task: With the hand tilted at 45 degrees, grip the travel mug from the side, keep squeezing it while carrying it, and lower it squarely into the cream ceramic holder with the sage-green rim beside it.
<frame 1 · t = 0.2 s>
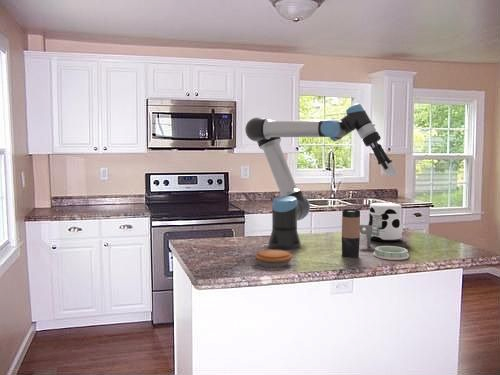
hand: (393, 175, 206), 34 cm above the table, tool tilted 30°, fingers open, 13 cm apart
milk container: (384, 240, 235), on the table
pie: (273, 264, 189), on the table
mug holder: (390, 255, 202), on the table
travel mug: (350, 256, 201), on the table
mechanical component: (368, 246, 220), on the table
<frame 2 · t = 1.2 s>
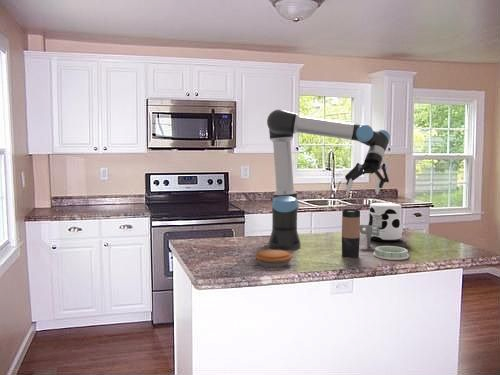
hand: (361, 192, 207), 27 cm above the table, tool tilted 45°, fingers open, 13 cm apart
nothing on the table moved.
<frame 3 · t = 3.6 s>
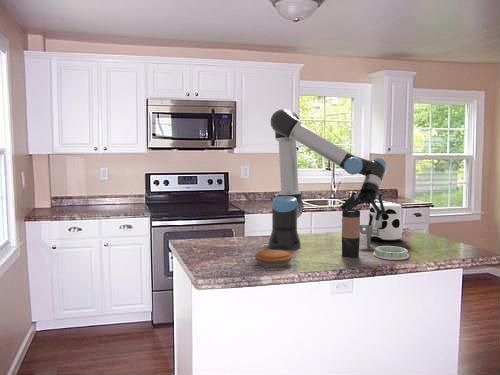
hand: (357, 224, 202), 14 cm above the table, tool tilted 45°, fingers open, 13 cm apart
nothing on the table moved.
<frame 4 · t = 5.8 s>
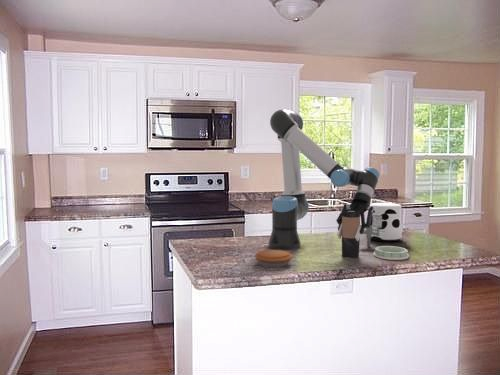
hand: (347, 238, 198), 9 cm above the table, tool tilted 45°, fingers closed on travel mug, 7 cm apart
travel mug: (350, 256, 201), on the table, touching gripper
everything else where it was.
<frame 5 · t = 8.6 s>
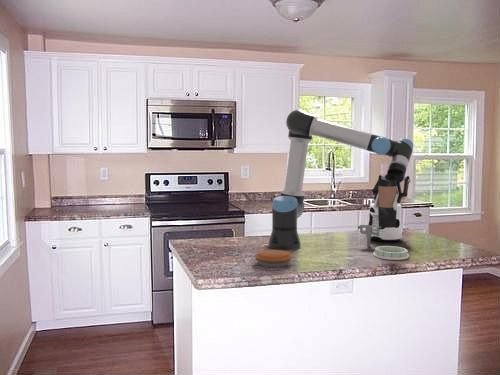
hand: (384, 207, 197), 22 cm above the table, tool tilted 45°, fingers closed on travel mug, 7 cm apart
travel mug: (387, 226, 201), point 13 cm above the table, touching gripper
everything else where it was.
when the fingers open (10 cm above the table, at t = 11.6 s): travel mug drops 1 cm, resting on mug holder.
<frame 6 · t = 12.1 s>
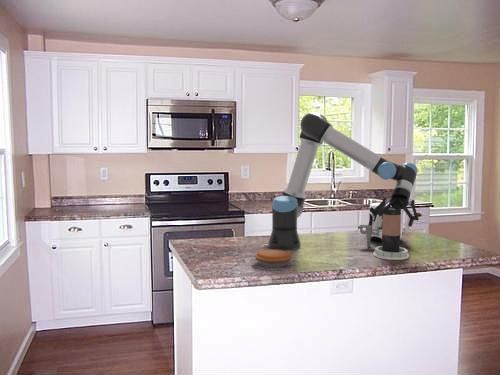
hand: (389, 230, 199), 12 cm above the table, tool tilted 45°, fingers open, 13 cm apart
travel mug: (390, 254, 202), point 1 cm above the table, touching mug holder
everything else where it was.
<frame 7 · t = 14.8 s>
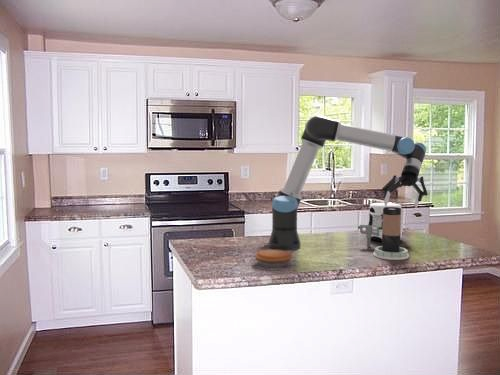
hand: (400, 205, 208), 21 cm above the table, tool tilted 45°, fingers open, 13 cm apart
nothing on the table moved.
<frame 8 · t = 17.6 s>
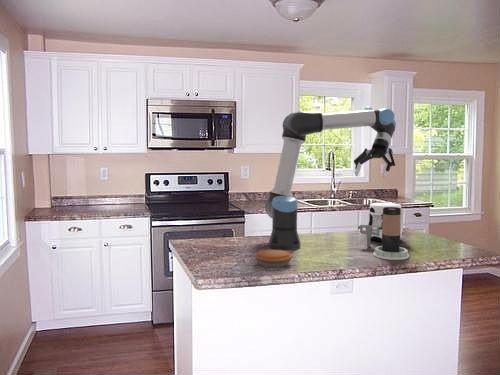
hand: (369, 175, 221), 34 cm above the table, tool tilted 45°, fingers open, 13 cm apart
nothing on the table moved.
at the end: travel mug 0.1 cm off-centre on the mug holder, point 0.6 cm above the mug holder's base; travel mug tilted 0°; the gripper is holding nothing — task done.
